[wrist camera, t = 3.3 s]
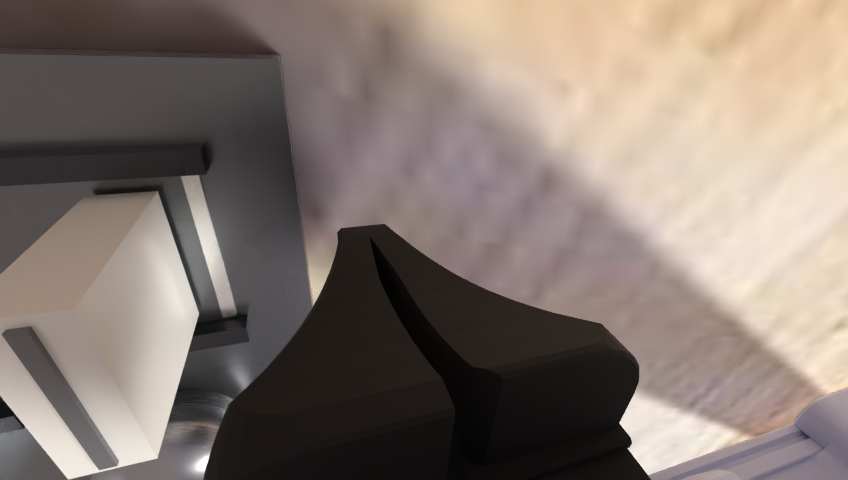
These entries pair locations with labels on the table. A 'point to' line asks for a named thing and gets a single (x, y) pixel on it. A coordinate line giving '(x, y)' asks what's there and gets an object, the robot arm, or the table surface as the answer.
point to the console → (183, 204)
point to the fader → (97, 333)
